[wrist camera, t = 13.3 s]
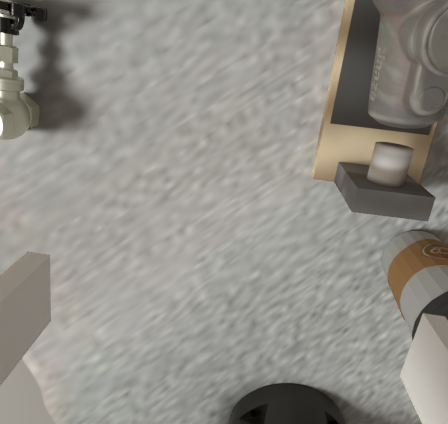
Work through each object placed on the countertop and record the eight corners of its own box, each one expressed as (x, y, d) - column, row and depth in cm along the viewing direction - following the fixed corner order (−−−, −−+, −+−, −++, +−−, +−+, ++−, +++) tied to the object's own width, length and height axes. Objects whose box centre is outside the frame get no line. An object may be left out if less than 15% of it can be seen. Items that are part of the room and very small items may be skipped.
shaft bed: (411, 186, 41) (453, 224, 33) (311, 174, 42) (326, 208, 33) (500, -118, 32) (592, -181, 23) (370, -131, 32) (414, -198, 24)
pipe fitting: (358, -41, 33) (412, -52, 24) (460, -42, 33) (552, -54, 24) (339, 110, 38) (377, 147, 29) (426, 109, 38) (490, 146, 29)
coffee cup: (464, 227, 43) (565, 315, 29) (434, 295, 46) (513, 403, 32) (384, 212, 43) (447, 292, 29) (360, 281, 46) (406, 383, 32)
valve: (54, 139, 42) (62, 12, 38) (21, 154, 36) (24, 5, 32) (-9, 124, 42) (-9, -5, 38) (-54, 137, 36) (-60, -15, 32)
